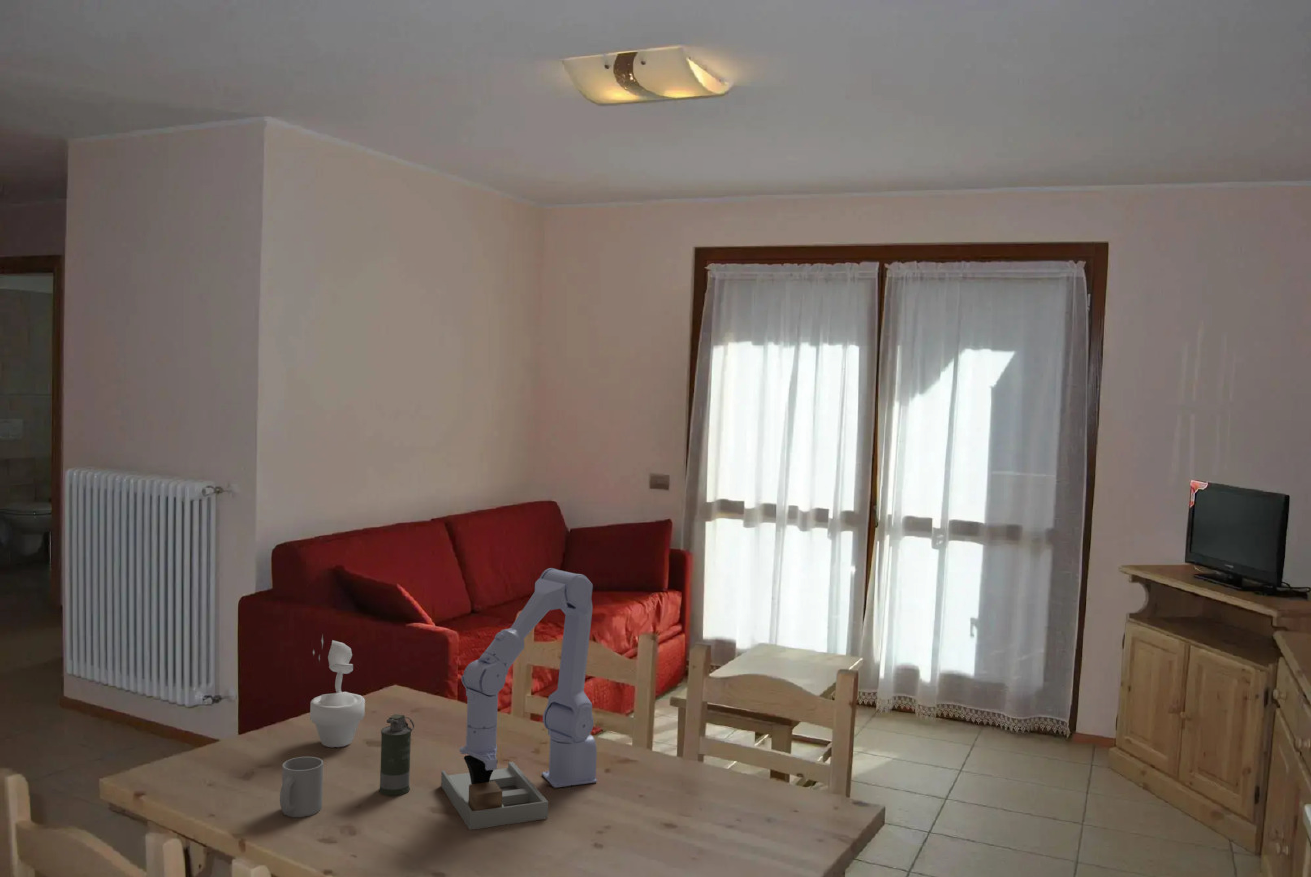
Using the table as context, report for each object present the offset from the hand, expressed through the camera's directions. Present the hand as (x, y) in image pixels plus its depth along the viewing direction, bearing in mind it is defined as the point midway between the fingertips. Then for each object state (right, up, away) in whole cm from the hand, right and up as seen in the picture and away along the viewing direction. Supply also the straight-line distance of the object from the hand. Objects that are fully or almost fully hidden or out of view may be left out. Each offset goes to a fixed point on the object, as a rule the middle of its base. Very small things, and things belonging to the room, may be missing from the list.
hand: (479, 794), depth 196 cm
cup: (-33, -2, -5) cm, 34 cm away
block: (+2, -1, -4) cm, 5 cm away
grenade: (-18, -2, +8) cm, 20 cm away
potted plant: (-37, 0, +32) cm, 49 cm away
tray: (+2, -3, +4) cm, 5 cm away
